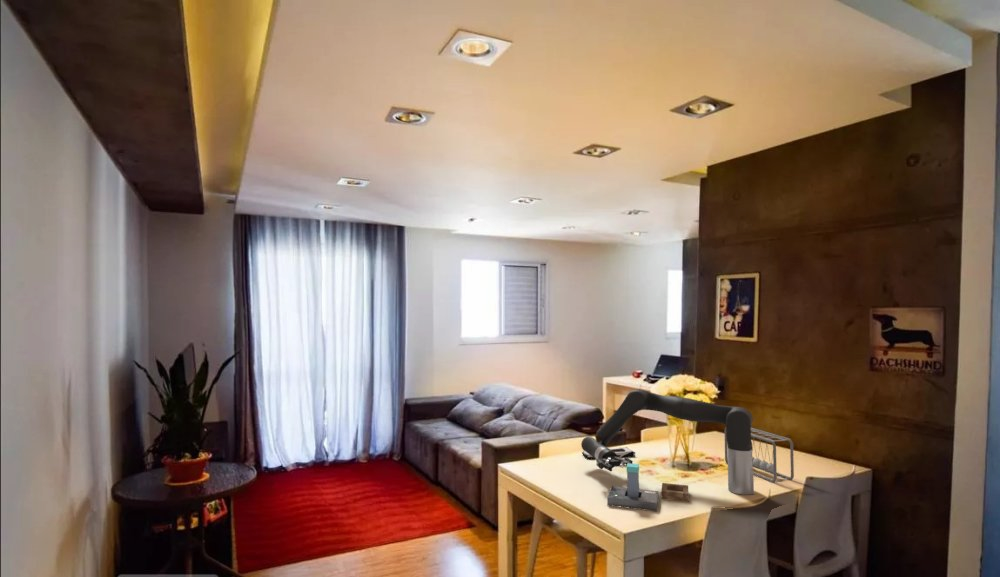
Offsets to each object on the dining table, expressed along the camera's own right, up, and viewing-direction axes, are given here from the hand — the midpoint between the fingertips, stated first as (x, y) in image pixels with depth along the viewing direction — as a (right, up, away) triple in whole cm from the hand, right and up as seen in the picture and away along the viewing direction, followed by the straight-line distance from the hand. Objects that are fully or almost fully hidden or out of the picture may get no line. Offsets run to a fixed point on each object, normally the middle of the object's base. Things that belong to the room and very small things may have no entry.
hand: (621, 468), depth 217 cm
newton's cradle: (+67, -10, +25) cm, 72 cm away
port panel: (+2, -9, -11) cm, 15 cm away
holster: (+20, -9, -5) cm, 23 cm away
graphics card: (+5, -12, +52) cm, 53 cm away
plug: (+2, -9, -11) cm, 14 cm away
